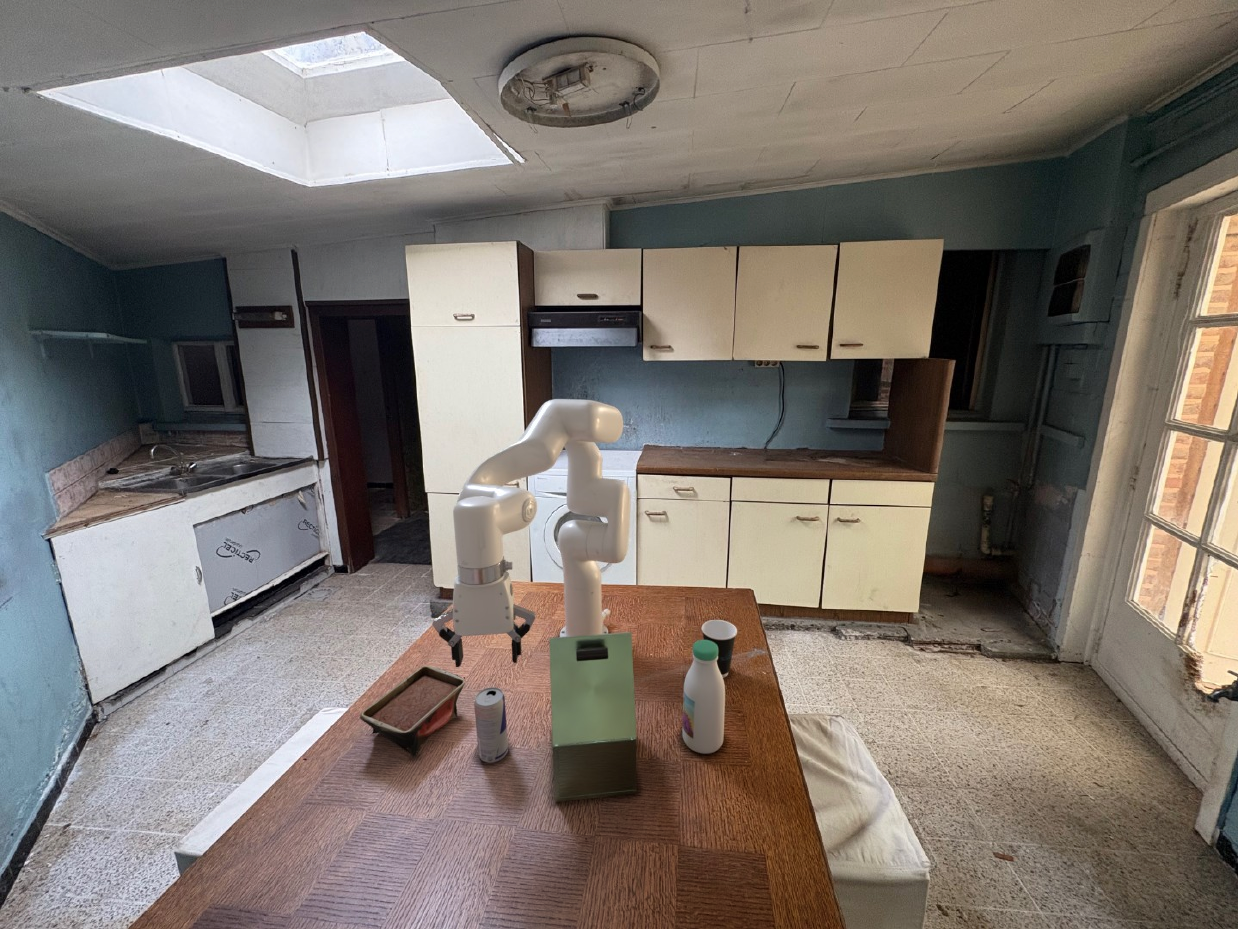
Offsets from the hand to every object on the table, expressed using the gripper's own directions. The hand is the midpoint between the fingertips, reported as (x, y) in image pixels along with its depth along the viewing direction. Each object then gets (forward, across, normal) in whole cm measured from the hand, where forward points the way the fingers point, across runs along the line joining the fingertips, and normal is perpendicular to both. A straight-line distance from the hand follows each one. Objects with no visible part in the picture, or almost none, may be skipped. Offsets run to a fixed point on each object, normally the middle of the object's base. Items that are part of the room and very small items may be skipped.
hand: (487, 660), depth 88 cm
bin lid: (+1, -18, +8) cm, 20 cm away
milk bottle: (+20, -39, +1) cm, 44 cm away
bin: (+20, -18, +4) cm, 27 cm away
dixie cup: (+19, -48, -19) cm, 55 cm away
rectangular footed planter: (+20, +16, -10) cm, 27 cm away
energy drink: (+20, 0, -1) cm, 20 cm away
